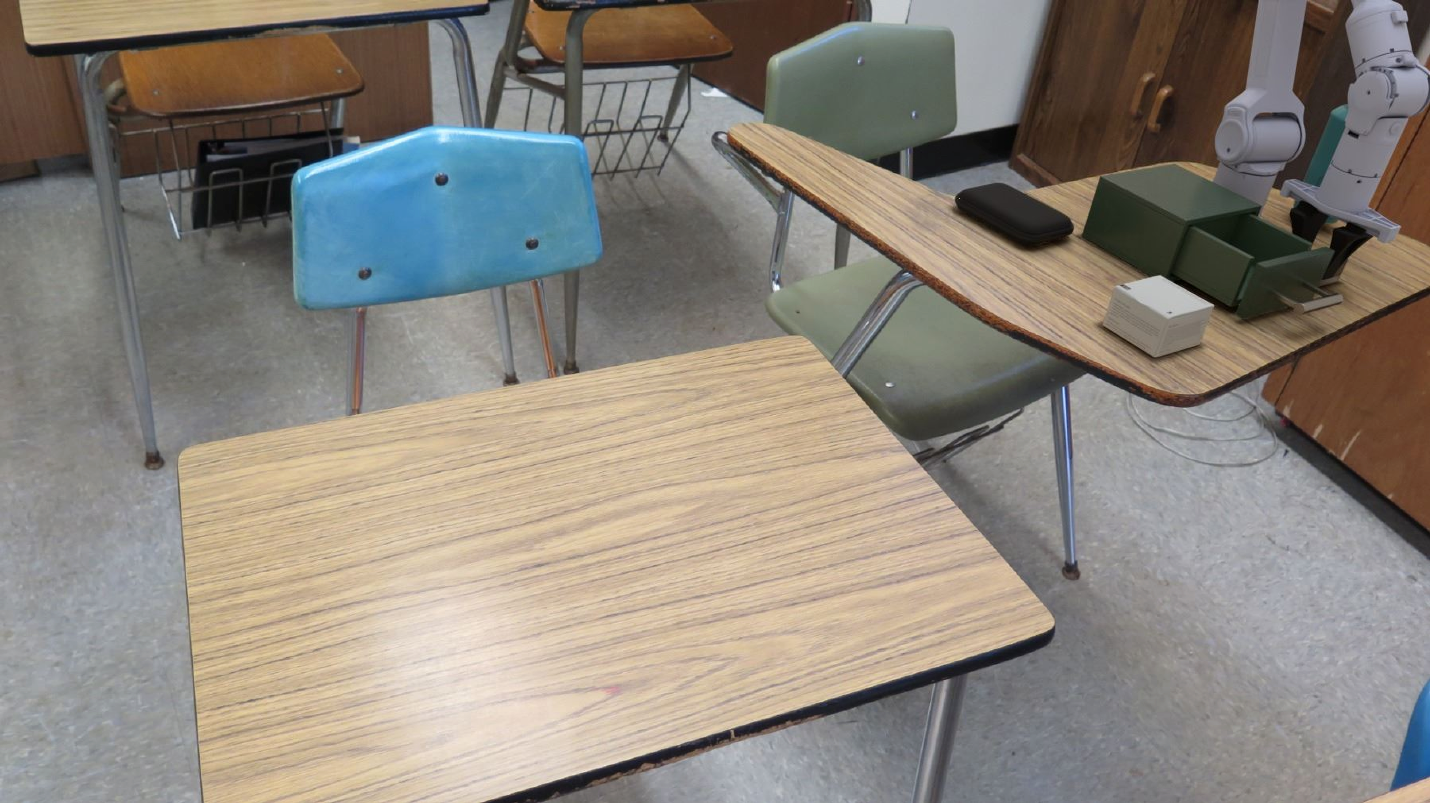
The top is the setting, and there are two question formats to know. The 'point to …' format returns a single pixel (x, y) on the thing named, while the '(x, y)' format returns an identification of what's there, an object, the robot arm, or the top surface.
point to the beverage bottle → (1326, 150)
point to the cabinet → (1156, 214)
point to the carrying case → (1014, 214)
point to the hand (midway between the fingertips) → (1310, 270)
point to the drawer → (1254, 266)
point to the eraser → (1336, 276)
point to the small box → (1157, 315)
